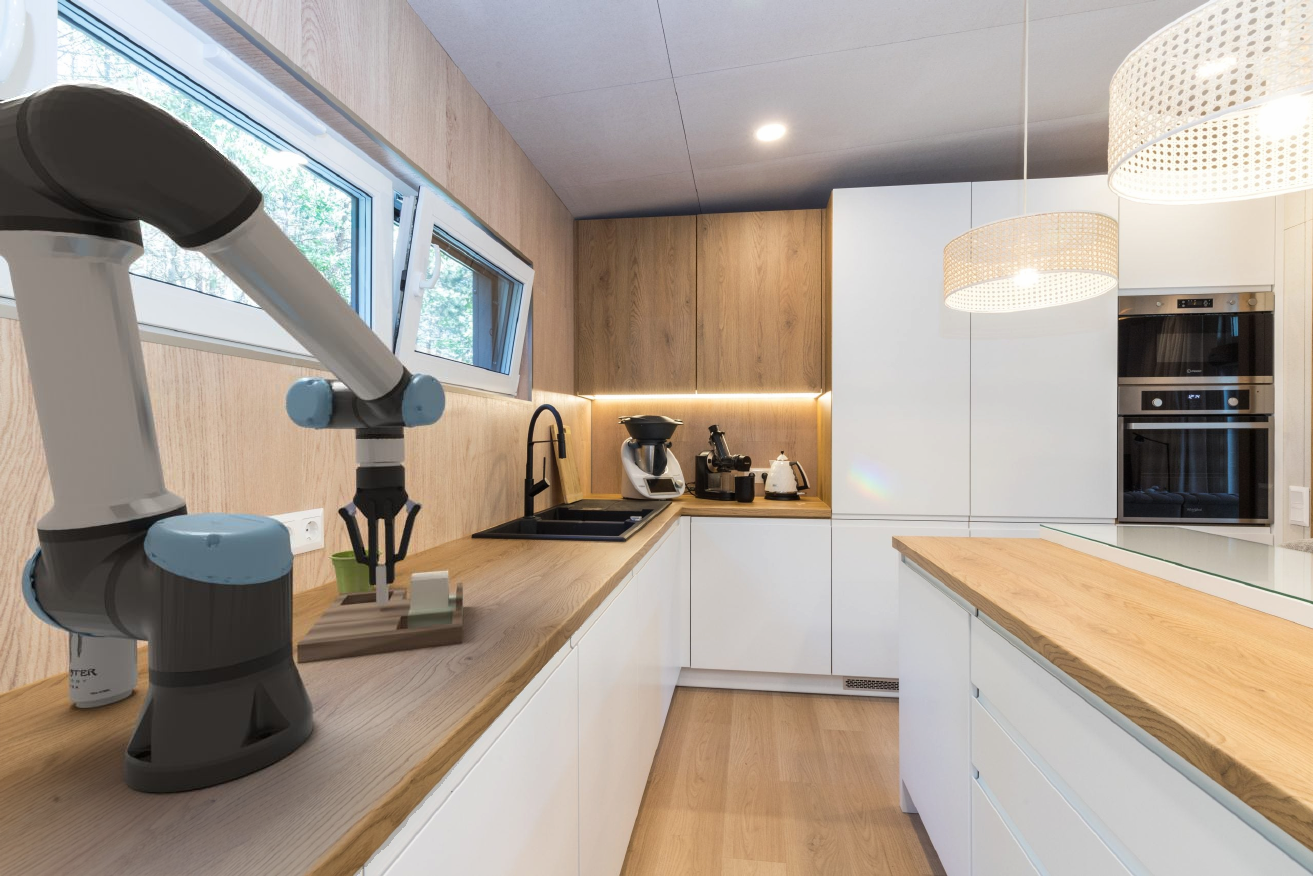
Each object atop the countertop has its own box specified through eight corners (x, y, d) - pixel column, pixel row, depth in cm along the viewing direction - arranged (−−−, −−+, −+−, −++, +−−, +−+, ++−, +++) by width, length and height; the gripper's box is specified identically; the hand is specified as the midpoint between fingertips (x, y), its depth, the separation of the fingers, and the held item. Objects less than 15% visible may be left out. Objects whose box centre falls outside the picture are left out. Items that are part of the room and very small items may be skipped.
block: (448, 606, 98) (447, 577, 98) (410, 610, 96) (409, 581, 96) (449, 597, 103) (448, 570, 103) (413, 601, 101) (412, 573, 101)
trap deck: (462, 642, 87) (461, 613, 87) (297, 662, 80) (297, 630, 80) (463, 594, 115) (463, 572, 115) (340, 606, 108) (340, 582, 108)
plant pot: (374, 587, 122) (373, 547, 122) (388, 595, 115) (388, 552, 115) (325, 596, 116) (324, 553, 116) (337, 605, 109) (336, 560, 109)
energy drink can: (59, 705, 68) (57, 580, 68) (122, 685, 74) (121, 569, 74) (84, 714, 66) (82, 584, 66) (148, 692, 71) (146, 572, 71)
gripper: (423, 463, 102) (425, 594, 102) (342, 465, 99) (344, 601, 98) (419, 464, 95) (421, 605, 95) (332, 466, 91) (334, 613, 91)
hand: (382, 603), depth 97 cm, fingers closed
